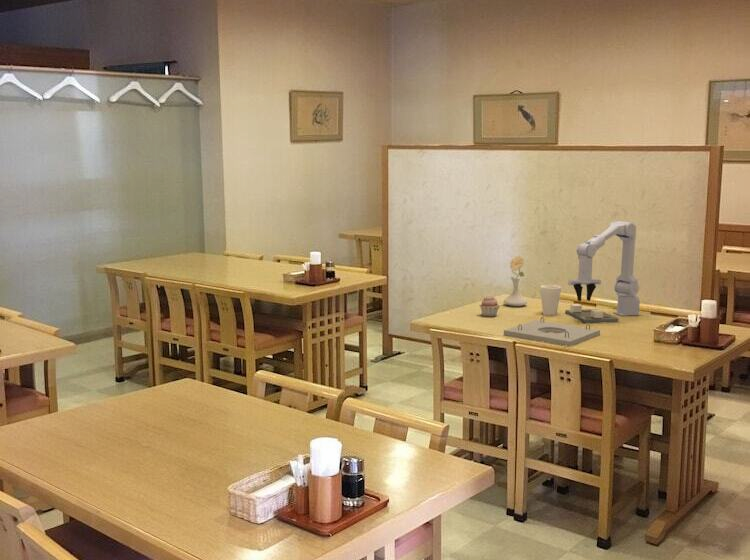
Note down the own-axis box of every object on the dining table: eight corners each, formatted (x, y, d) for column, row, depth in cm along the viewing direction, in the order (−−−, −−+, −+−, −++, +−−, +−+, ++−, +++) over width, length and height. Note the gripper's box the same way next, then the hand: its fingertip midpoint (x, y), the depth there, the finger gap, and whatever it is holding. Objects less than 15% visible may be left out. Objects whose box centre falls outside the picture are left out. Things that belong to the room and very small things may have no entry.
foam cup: (554, 317, 378) (555, 289, 376) (536, 314, 383) (537, 287, 381) (563, 313, 385) (564, 286, 383) (545, 311, 391) (546, 284, 389)
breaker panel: (597, 312, 389) (597, 308, 389) (618, 322, 368) (618, 318, 367) (565, 313, 386) (565, 309, 386) (584, 323, 365) (584, 319, 365)
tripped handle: (599, 316, 372) (599, 309, 372) (602, 317, 368) (603, 311, 368) (590, 316, 371) (591, 309, 371) (594, 318, 368) (594, 311, 367)
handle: (578, 310, 385) (578, 303, 385) (581, 311, 381) (581, 305, 381) (570, 310, 384) (570, 304, 384) (573, 312, 381) (573, 305, 380)
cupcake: (494, 313, 386) (495, 292, 384) (502, 317, 377) (503, 295, 376) (475, 314, 384) (476, 293, 382) (483, 318, 375) (484, 296, 373)
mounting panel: (570, 335, 321) (504, 324, 340) (570, 348, 322) (503, 336, 341) (600, 324, 342) (536, 314, 361) (599, 336, 343) (535, 326, 362)
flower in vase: (499, 303, 409) (500, 254, 405) (520, 302, 412) (521, 253, 408) (511, 308, 396) (512, 257, 392) (532, 307, 400) (534, 256, 396)
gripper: (573, 272, 360) (572, 302, 362) (604, 271, 363) (603, 301, 365) (567, 269, 367) (565, 299, 369) (597, 269, 369) (596, 298, 372)
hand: (583, 300), depth 368 cm, fingers open, 4 cm apart
